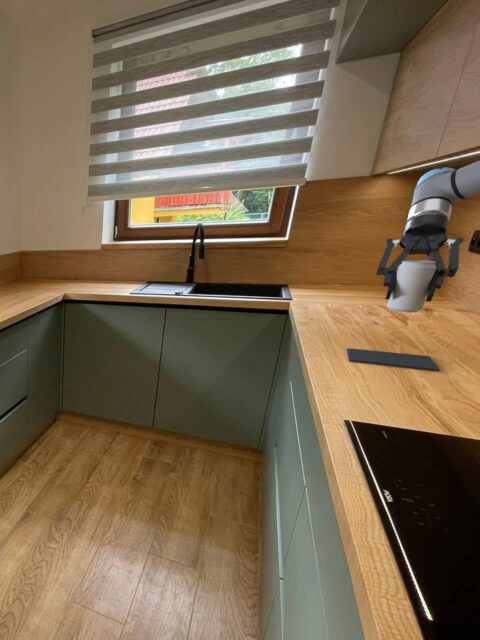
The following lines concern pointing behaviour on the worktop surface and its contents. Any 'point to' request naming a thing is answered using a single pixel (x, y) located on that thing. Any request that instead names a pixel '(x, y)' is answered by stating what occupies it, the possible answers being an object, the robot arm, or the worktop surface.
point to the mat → (392, 359)
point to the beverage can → (411, 286)
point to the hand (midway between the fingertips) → (408, 296)
